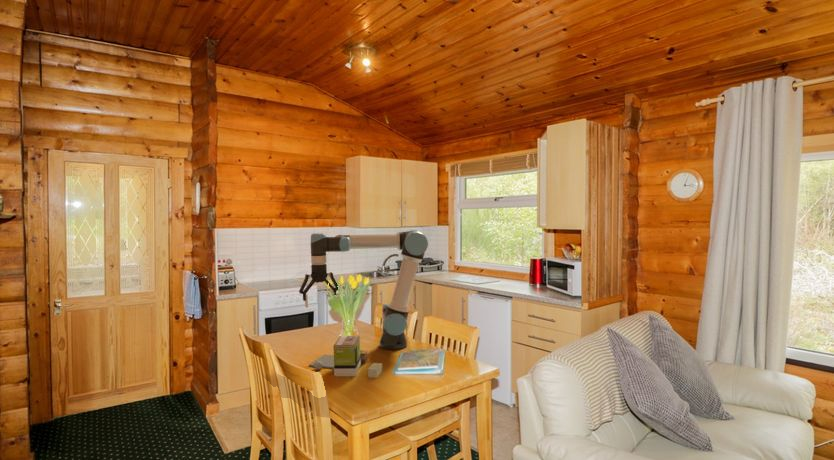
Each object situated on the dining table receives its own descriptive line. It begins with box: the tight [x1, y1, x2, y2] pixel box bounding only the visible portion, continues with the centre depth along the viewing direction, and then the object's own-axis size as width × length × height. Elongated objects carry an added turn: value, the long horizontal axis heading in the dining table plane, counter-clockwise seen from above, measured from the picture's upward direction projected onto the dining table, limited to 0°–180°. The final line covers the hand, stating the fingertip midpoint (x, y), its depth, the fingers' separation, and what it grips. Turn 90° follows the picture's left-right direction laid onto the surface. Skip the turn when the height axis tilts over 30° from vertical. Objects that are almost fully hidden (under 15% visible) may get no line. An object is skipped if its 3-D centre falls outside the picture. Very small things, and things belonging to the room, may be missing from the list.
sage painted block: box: [367, 362, 383, 379], centre depth 210 cm, size 4×8×4 cm, turn 167°
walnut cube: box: [360, 349, 368, 365], centre depth 227 cm, size 5×5×5 cm
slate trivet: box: [308, 354, 334, 370], centre depth 227 cm, size 13×16×1 cm
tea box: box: [333, 335, 362, 377], centre depth 214 cm, size 15×10×15 cm
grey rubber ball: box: [313, 361, 323, 370], centre depth 216 cm, size 4×4×4 cm
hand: (319, 305), depth 234 cm, fingers open, 13 cm apart
